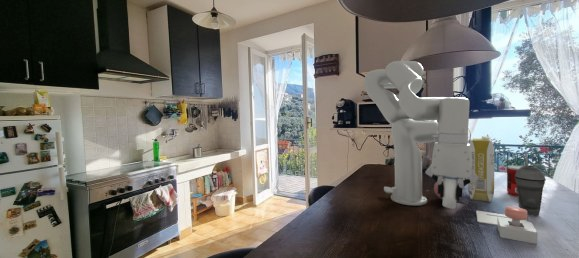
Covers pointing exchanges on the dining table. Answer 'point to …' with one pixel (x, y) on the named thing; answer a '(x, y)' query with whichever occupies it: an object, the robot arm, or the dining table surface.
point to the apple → (437, 189)
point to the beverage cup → (530, 188)
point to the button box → (517, 230)
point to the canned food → (512, 180)
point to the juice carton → (482, 169)
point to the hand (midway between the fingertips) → (449, 197)
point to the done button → (516, 214)
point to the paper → (489, 217)
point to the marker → (449, 192)
